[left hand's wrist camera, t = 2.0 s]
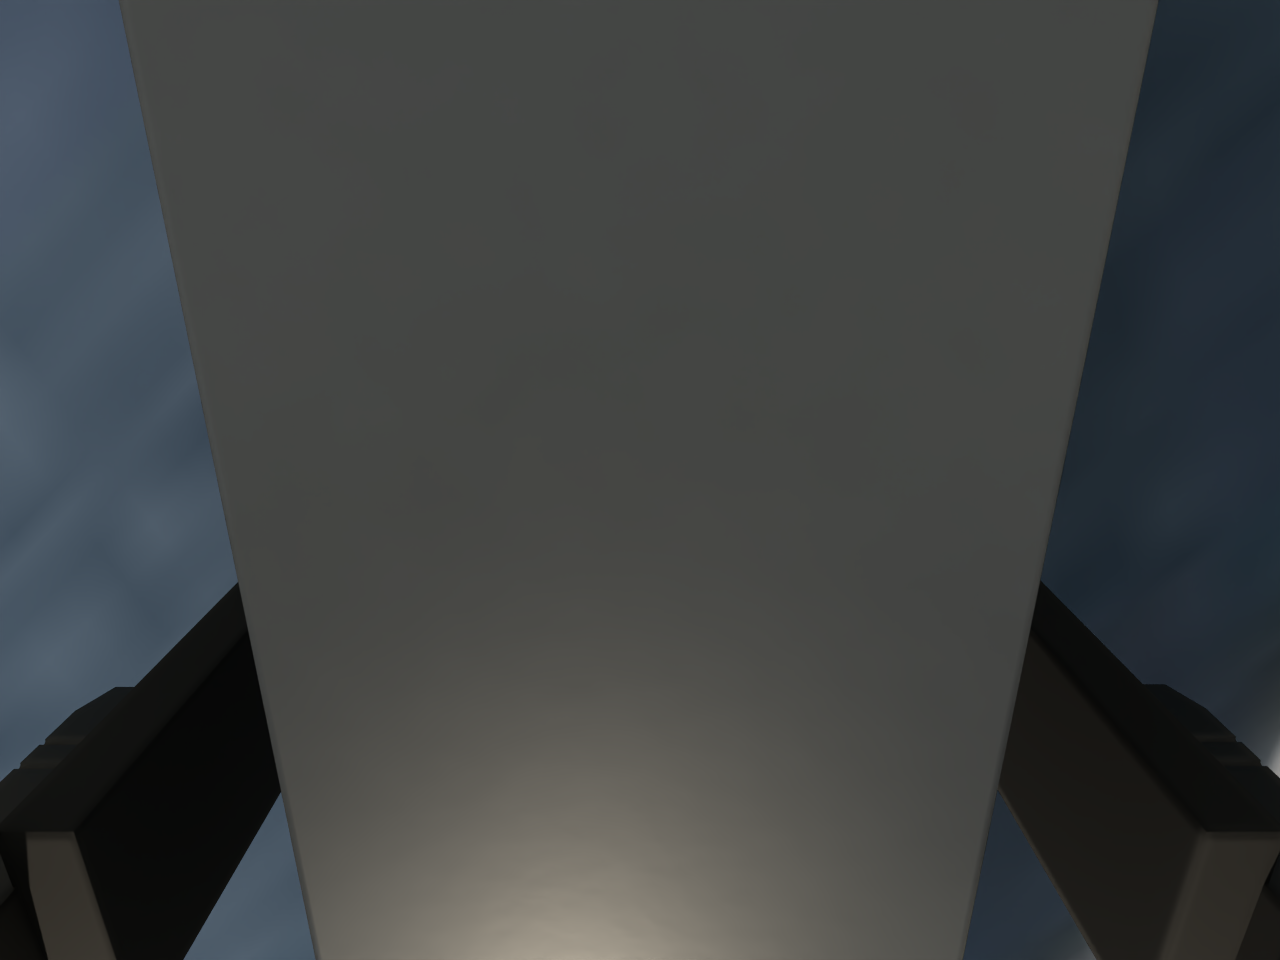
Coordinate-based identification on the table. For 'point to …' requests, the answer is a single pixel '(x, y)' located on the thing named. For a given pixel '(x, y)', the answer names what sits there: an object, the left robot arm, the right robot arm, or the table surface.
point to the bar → (638, 442)
